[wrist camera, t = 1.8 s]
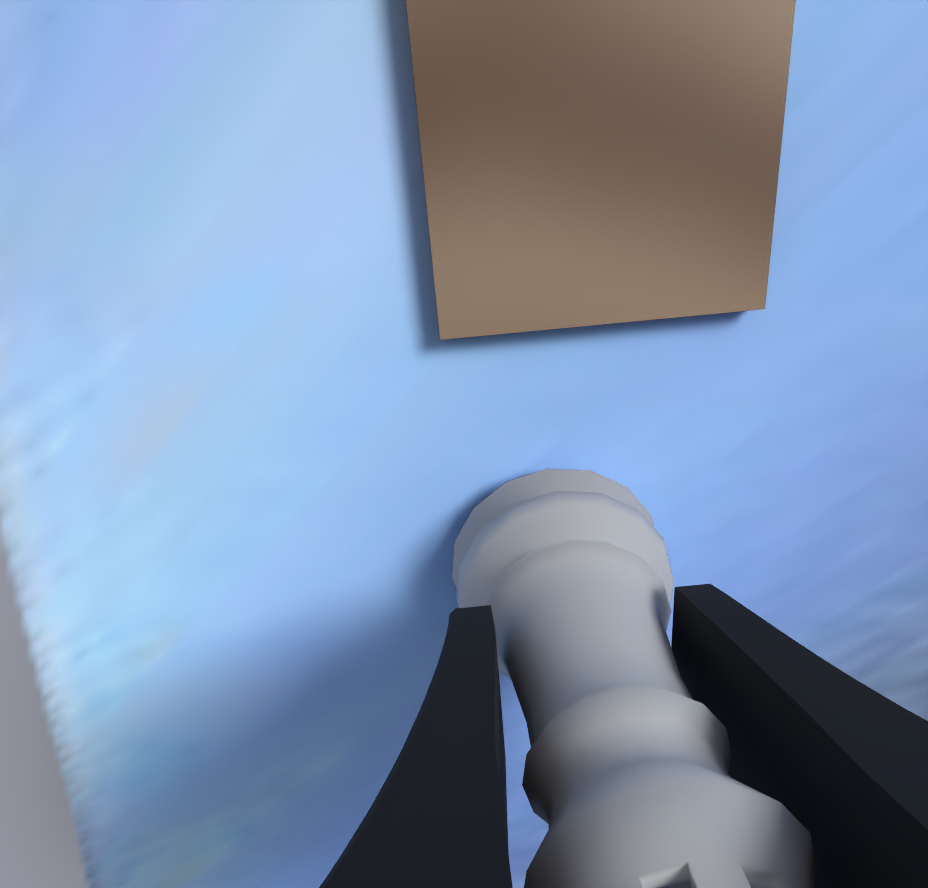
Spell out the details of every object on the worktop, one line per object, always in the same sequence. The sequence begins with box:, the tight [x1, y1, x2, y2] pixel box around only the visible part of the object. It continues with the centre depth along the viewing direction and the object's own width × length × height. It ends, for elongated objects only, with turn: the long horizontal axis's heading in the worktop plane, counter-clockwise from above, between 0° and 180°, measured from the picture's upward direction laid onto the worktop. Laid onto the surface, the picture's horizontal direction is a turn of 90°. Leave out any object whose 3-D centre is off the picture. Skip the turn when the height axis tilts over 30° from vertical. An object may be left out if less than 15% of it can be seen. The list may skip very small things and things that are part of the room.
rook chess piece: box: [452, 469, 817, 888], centre depth 9 cm, size 4×4×8 cm
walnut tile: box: [406, 0, 796, 340], centre depth 10 cm, size 6×6×1 cm
